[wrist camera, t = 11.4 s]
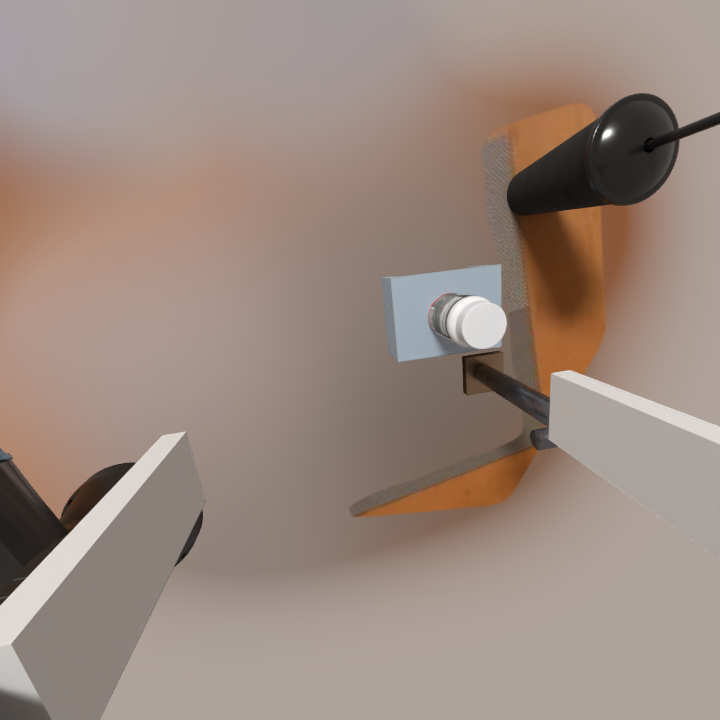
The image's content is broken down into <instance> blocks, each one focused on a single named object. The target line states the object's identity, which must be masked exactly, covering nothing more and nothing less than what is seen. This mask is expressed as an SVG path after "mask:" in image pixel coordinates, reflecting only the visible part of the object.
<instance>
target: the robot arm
mask: <svg viewBox="0 0 720 720" xmlns="http://www.w3.org/2000/svg"><path fill="white" fill-rule="evenodd" d="M549 440H550V441H551V442H553V443H554V444H556V445H557V446H558V447H560V448H561V449H563V450H564V451H565V452H567V453H568V454H570V455H571V456H572V457H574V458H575V459H577V460H578V461H579V462H581V463H582V464H584V465H585V466H586V467H588V468H589V469H591V470H592V471H593V472H595V473H596V474H598V475H599V476H601V477H602V478H603V479H605V480H606V481H608V482H609V483H611V484H612V485H613V486H615V487H616V488H617V489H619V490H620V491H622V492H623V493H625V494H626V495H627V496H629V497H630V498H631V499H633V500H634V501H636V502H637V503H639V504H640V505H641V506H643V507H644V508H646V509H647V510H648V511H650V512H651V513H653V514H654V515H655V516H657V517H658V518H660V519H661V520H663V521H664V522H665V523H667V524H668V525H670V526H671V527H672V528H674V529H675V530H676V531H678V532H679V533H681V534H682V535H684V536H685V537H687V538H688V539H689V540H691V541H692V542H693V543H695V544H696V545H698V546H699V547H700V548H702V549H703V550H705V551H706V552H707V553H709V554H710V555H712V556H713V557H715V558H716V559H717V560H719V561H720V427H719V426H717V425H714V424H711V423H708V422H706V421H703V420H700V419H698V418H695V417H693V416H690V415H687V414H685V413H682V412H679V411H677V410H674V409H672V408H669V407H666V406H664V405H661V404H658V403H656V402H653V401H650V400H648V399H645V398H642V397H640V396H637V395H634V394H632V393H629V392H627V391H624V390H621V389H619V388H616V387H613V386H611V385H608V384H605V383H602V382H600V381H597V380H595V379H592V378H589V377H587V376H584V375H582V374H579V373H576V372H574V371H571V370H568V371H562V372H556V373H551V388H550V415H549ZM11 459H13V457H12V456H11V455H10V454H9V453H5V452H4V451H3V450H2V449H1V448H0V720H100V718H101V716H102V714H103V712H104V710H105V708H106V706H107V704H108V702H109V700H110V698H111V696H112V694H113V691H114V689H115V687H116V685H117V683H118V681H119V679H120V677H121V675H122V673H123V671H124V669H125V667H126V665H127V662H128V661H129V658H130V656H131V654H132V652H133V650H134V648H135V646H136V644H137V642H138V640H139V638H140V636H141V633H142V632H143V630H144V627H145V625H146V623H147V621H148V619H149V617H150V615H151V613H152V611H153V609H154V607H155V605H156V603H157V601H158V599H159V597H160V595H161V592H162V591H163V588H164V586H165V584H166V582H167V580H168V578H169V576H170V574H171V572H172V570H173V568H174V567H175V566H176V565H177V564H179V563H180V562H181V561H182V560H183V559H184V557H185V556H186V555H187V554H188V553H189V551H190V550H191V548H192V547H193V545H194V543H195V540H196V538H197V536H198V534H199V532H200V529H201V526H202V520H203V512H202V508H203V506H204V504H205V502H206V500H205V497H204V493H203V490H202V486H201V483H200V479H199V475H198V472H197V468H196V465H195V461H194V458H193V454H192V451H191V447H190V443H189V440H188V437H187V433H186V432H181V433H175V434H169V435H163V436H162V437H161V438H159V440H158V441H157V442H156V443H155V444H154V445H153V446H152V447H151V448H150V449H149V450H148V451H147V452H146V453H145V454H144V455H143V456H142V457H141V458H140V460H139V461H138V462H137V463H123V464H117V465H114V466H111V467H107V468H105V469H103V470H101V471H99V472H97V473H96V474H94V475H93V476H92V477H90V478H89V479H88V480H87V481H86V482H85V483H84V484H82V485H81V486H80V487H79V488H78V489H77V490H76V491H75V492H74V493H73V495H72V496H71V497H70V498H69V500H68V501H67V503H66V505H65V507H64V510H63V512H62V515H61V518H60V519H58V518H57V517H56V516H55V515H54V513H53V512H52V511H51V510H50V508H49V507H48V506H47V505H46V504H45V502H44V501H43V500H42V499H41V497H40V496H39V495H38V494H37V492H36V491H35V490H34V489H33V487H32V486H31V485H30V484H29V482H28V481H27V479H25V477H24V476H23V474H22V473H21V472H20V470H19V469H18V468H17V467H16V465H15V464H14V463H13V461H12V460H11Z"/></svg>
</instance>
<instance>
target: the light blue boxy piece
mask: <svg viewBox="0 0 720 720" xmlns="http://www.w3.org/2000/svg"><path fill="white" fill-rule="evenodd" d="M381 279H382V288H383V300H384V309H385V320H386V330H387V341H388V351H389V353H390V354H391V355H392V356H393V357H394V358H395V359H396V360H397V361H398V362H403V361H409V360H416V359H422V358H429V357H436V356H442V355H450V354H455V353H463V352H470V351H476V350H483V349H476V348H473V347H472V348H468V347H463V346H460V345H458V344H456V343H454V342H452V341H450V340H448V339H446V338H444V337H442V336H440V335H438V334H436V333H435V332H434V331H433V330H432V329H431V327H430V325H429V322H428V311H429V308H430V306H431V304H432V303H433V301H434V300H435V299H436V298H438V297H439V296H441V295H443V294H446V293H458V294H465V295H473V296H480V297H483V298H485V299H487V300H489V301H490V302H491V303H494V304H496V305H498V306H499V307H500V308H501V265H483V266H472V267H466V269H459V270H450V271H442V272H434V273H426V274H418V275H411V276H392V277H384V278H381ZM496 347H501V340H500V341H499V342H498V343H497V344H496V345H494V346H492V347H490V348H496ZM490 348H487V349H490Z"/></svg>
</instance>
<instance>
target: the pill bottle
mask: <svg viewBox="0 0 720 720" xmlns="http://www.w3.org/2000/svg"><path fill="white" fill-rule="evenodd" d="M428 322H429V325H430V327H431V329H432V330H433V331H434V332H435V333H436V334H438V335H440V336H442V337H444V338H446V339H448V340H450V341H452V342H454V343H456V344H458V345H460V346H463V347H468V348H472V347H473V348H476V349H487V348H490V347H492V346H494V345H496V344H497V343H498V342H499V341H500V340H501V339H502V337H503V335H504V333H505V330H506V326H507V320H506V316H505V313H504V312H503V310H502V309H501V308H500V307H499V306H498V305H496V304H494V303H491V302H490V301H489V300H487V299H485V298H483V297H480V296H473V295H465V294H458V293H446V294H443V295H441V296H439V297H438V298H436V299H435V300H434V301H433V303H432V304H431V306H430V308H429V311H428Z"/></svg>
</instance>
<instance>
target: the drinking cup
mask: <svg viewBox="0 0 720 720" xmlns="http://www.w3.org/2000/svg"><path fill="white" fill-rule="evenodd" d="M719 124H720V112H719V113H716V114H713V115H711V116H708V117H706V118H703V119H701V120H699V121H696V122H694V123H691V124H689V125H686V126H684V127H681V128H678V123H677V120H676V117H675V115H674V113H673V111H672V110H671V108H670V107H669V106H668V104H667V103H666V102H664V101H663V100H662V99H661V98H659V97H657V96H655V95H651V94H645V93H639V94H633V95H629V96H627V97H624V98H623V99H621V100H619V101H617V102H616V103H614V104H613V105H611V106H610V107H609V108H608V109H607V110H606V111H605V112H604V113H603V114H602V115H601V116H600V118H598V119H597V120H595V121H594V122H592V123H591V124H589V125H588V126H587V127H585V128H584V129H582V130H581V131H579V132H578V133H576V134H575V135H573V136H572V137H571V138H569V139H568V140H566V141H565V142H563V143H562V144H560V145H559V146H557V147H556V148H554V149H553V150H552V151H550V152H549V153H547V154H546V155H544V156H543V157H541V158H540V159H538V160H537V161H536V162H534V163H533V164H531V165H530V166H528V167H527V168H525V169H524V170H522V171H521V172H520V173H518V174H517V175H516V176H515V177H514V178H513V179H512V180H511V182H510V184H509V187H508V191H507V199H508V203H509V206H510V207H511V209H512V210H513V211H514V212H515V213H517V214H519V215H533V214H540V213H548V212H556V211H564V210H571V209H579V208H587V207H594V206H602V205H610V204H612V205H616V206H628V205H632V204H636V203H639V202H641V201H644V200H645V199H647V198H649V197H650V196H651V195H653V194H654V193H655V192H656V191H657V190H658V189H659V188H660V187H661V186H662V185H663V184H664V182H665V181H666V180H667V178H668V177H669V175H670V173H671V171H672V169H673V167H674V164H675V162H676V159H677V155H678V150H679V139H682V138H684V137H687V136H690V135H692V134H695V133H697V132H700V131H703V130H706V129H708V128H711V127H714V126H716V125H719Z"/></svg>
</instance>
